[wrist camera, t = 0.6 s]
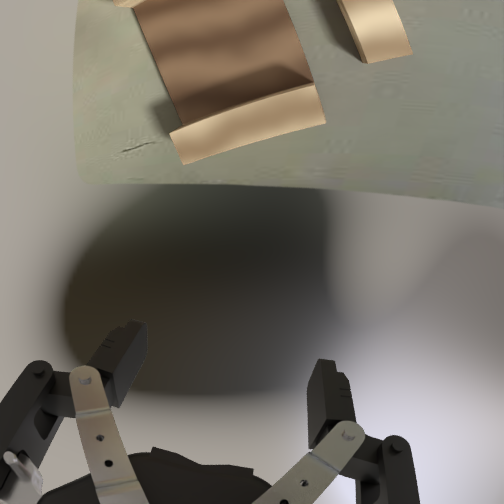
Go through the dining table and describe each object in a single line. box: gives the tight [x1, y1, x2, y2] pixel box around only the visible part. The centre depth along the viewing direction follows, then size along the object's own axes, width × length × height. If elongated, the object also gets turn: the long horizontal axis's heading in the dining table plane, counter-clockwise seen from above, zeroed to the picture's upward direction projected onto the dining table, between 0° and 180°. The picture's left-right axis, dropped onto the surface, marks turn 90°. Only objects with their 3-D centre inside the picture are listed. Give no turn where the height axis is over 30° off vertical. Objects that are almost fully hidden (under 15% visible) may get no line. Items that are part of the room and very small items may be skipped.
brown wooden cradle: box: [113, 0, 326, 165], centre depth 27 cm, size 25×16×5 cm, turn 20°
